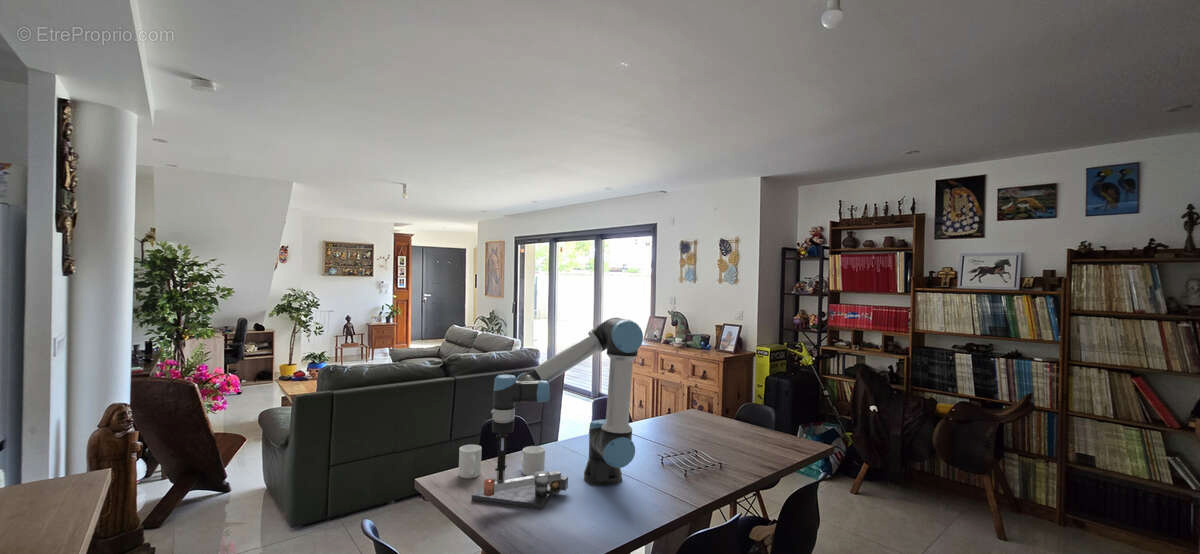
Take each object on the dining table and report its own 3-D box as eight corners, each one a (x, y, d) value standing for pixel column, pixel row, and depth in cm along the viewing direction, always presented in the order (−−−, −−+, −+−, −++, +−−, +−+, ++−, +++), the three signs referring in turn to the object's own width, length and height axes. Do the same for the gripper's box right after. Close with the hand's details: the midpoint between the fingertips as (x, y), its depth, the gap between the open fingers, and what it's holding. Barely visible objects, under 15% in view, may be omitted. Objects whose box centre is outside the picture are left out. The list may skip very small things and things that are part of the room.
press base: (567, 492, 182) (567, 476, 182) (553, 511, 166) (554, 493, 166) (491, 483, 189) (492, 467, 189) (471, 500, 173) (472, 483, 173)
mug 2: (548, 473, 200) (549, 450, 200) (529, 478, 194) (530, 454, 195) (532, 464, 209) (533, 442, 210) (514, 469, 204) (514, 446, 204)
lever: (555, 478, 182) (556, 466, 182) (562, 483, 176) (562, 471, 176) (481, 491, 168) (481, 478, 168) (486, 498, 163) (486, 485, 163)
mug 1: (462, 483, 188) (463, 455, 188) (456, 472, 198) (457, 446, 199) (485, 480, 192) (486, 452, 192) (477, 469, 202) (478, 443, 203)
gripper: (492, 415, 177) (489, 480, 176) (492, 425, 164) (488, 496, 164) (513, 414, 178) (510, 480, 178) (514, 425, 165) (511, 495, 165)
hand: (500, 487), depth 171 cm, fingers closed
